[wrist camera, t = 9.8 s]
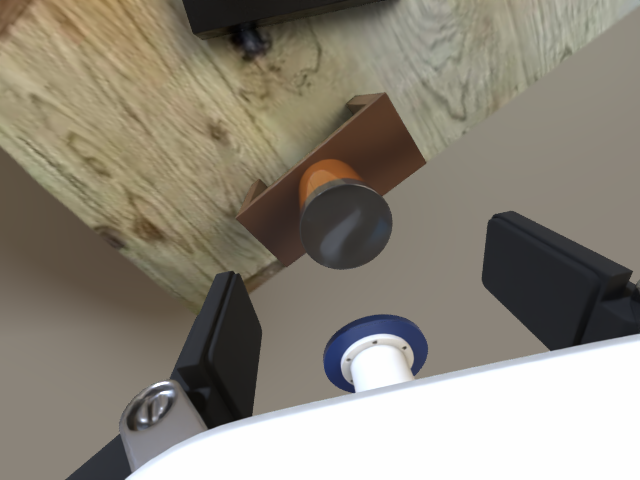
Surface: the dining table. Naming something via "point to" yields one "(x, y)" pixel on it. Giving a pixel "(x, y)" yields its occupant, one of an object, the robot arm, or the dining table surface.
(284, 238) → the shelf
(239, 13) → the hob
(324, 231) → the spice bottle
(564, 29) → the dining table surface
